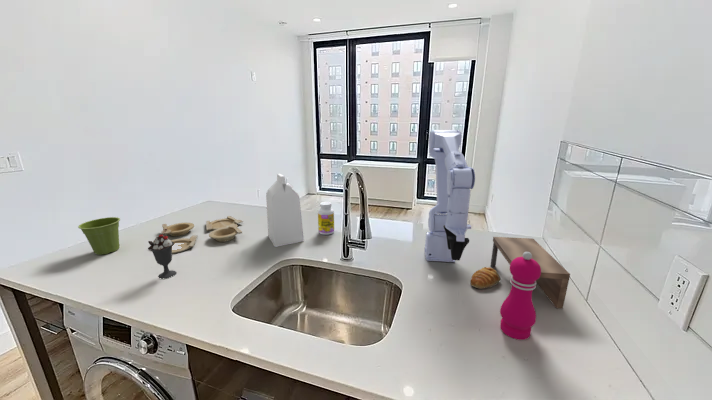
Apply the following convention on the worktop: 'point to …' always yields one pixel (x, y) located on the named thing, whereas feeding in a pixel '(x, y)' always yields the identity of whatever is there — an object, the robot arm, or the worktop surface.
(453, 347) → the worktop surface
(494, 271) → the pastry
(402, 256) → the worktop surface
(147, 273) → the worktop surface
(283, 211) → the milk
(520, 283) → the pepper mill
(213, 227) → the tableware set
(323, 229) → the supplement bottle
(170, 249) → the sundae
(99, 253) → the plant pot
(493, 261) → the walnut shelf
